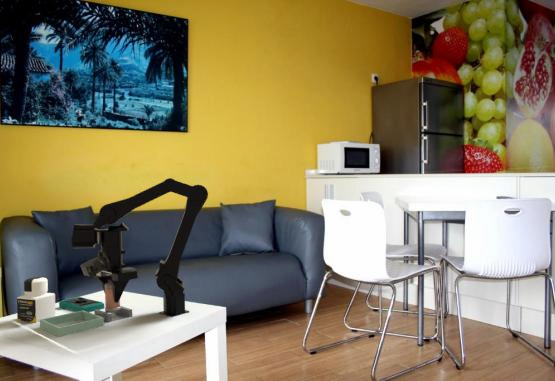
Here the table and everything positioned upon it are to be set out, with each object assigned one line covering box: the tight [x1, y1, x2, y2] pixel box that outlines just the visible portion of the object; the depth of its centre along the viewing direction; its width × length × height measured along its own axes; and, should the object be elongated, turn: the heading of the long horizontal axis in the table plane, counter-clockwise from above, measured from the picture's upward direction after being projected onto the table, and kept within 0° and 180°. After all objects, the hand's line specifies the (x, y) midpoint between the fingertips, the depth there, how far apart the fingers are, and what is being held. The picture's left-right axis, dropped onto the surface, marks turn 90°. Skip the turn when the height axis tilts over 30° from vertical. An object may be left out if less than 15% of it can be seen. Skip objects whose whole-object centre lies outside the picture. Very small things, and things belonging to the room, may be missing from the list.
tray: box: [39, 310, 105, 338], centre depth 128 cm, size 12×12×2 cm
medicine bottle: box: [16, 276, 57, 324], centre depth 136 cm, size 7×7×12 cm
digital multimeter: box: [58, 296, 105, 313], centre depth 148 cm, size 7×15×3 cm, turn 52°
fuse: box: [104, 282, 122, 314], centre depth 137 cm, size 4×4×8 cm
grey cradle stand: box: [93, 305, 133, 323], centre depth 137 cm, size 8×7×2 cm
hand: (112, 301), depth 137 cm, fingers closed on fuse, 4 cm apart
